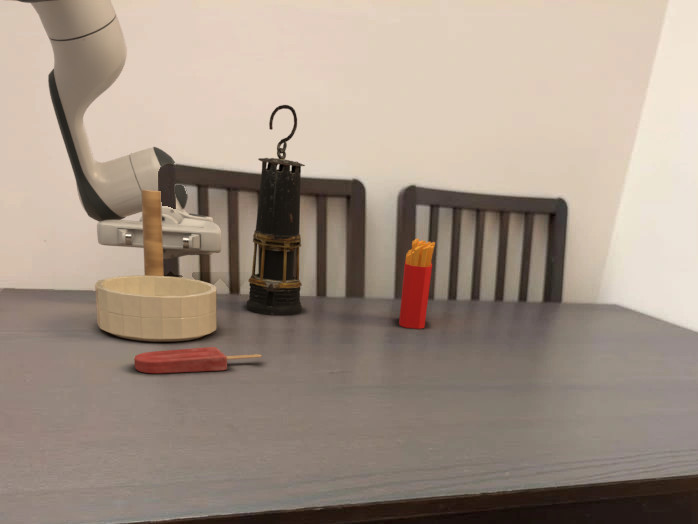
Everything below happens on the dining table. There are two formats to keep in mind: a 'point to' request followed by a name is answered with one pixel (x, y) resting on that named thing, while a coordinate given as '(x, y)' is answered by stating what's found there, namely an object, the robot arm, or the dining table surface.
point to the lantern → (277, 234)
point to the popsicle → (185, 360)
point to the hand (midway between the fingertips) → (157, 241)
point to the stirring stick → (152, 232)
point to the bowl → (156, 307)
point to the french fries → (416, 284)
